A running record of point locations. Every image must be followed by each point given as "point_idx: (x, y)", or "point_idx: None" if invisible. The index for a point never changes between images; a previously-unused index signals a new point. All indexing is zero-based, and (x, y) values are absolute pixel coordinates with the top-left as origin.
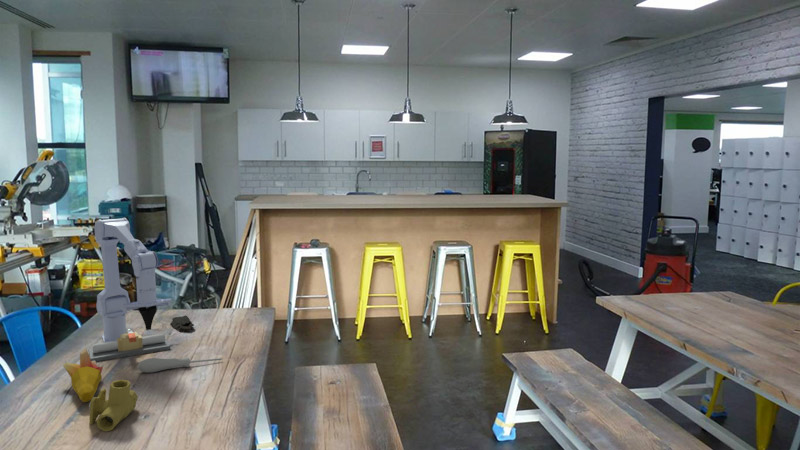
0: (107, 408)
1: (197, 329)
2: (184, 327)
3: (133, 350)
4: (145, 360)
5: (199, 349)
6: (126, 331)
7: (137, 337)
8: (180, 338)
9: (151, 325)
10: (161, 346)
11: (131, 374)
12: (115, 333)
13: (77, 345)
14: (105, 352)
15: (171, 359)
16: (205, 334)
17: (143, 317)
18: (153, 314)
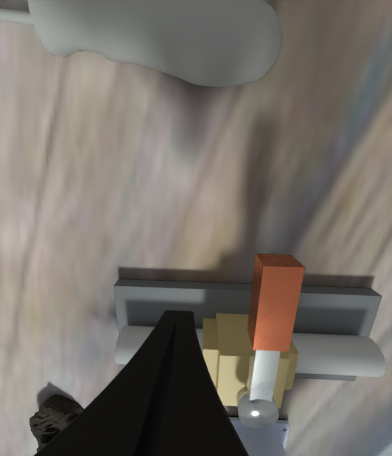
0: None
1: (31, 403)
2: (59, 420)
3: (236, 302)
4: (248, 14)
5: (22, 223)
6: (272, 399)
7: (223, 349)
8: (82, 357)
9: (153, 329)
10: (143, 293)
11: (292, 67)
12: (262, 452)
13: (350, 435)
14: (320, 330)
15: (115, 6)
16: (6, 354)
17: (223, 425)
18: (64, 449)
